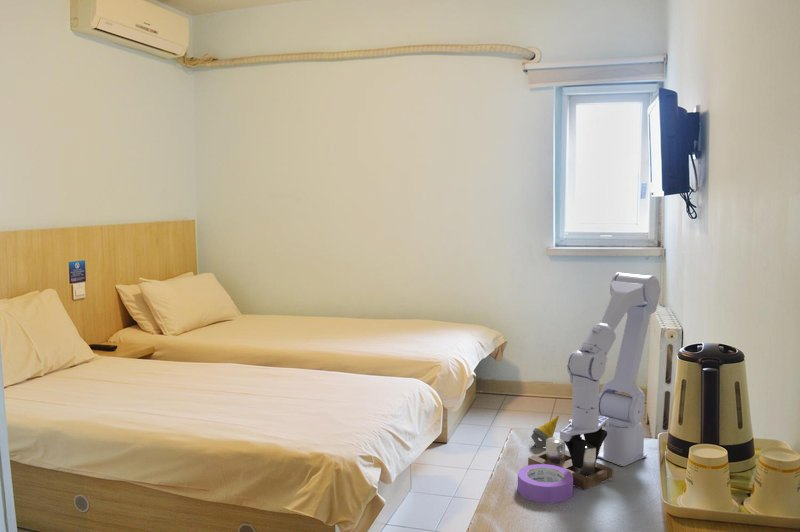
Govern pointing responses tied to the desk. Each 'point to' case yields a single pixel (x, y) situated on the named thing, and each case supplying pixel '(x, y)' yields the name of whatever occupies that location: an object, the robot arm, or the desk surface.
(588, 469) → the billet
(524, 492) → the masking tape
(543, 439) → the drill bit
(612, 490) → the desk surface
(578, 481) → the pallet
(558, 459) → the billet
